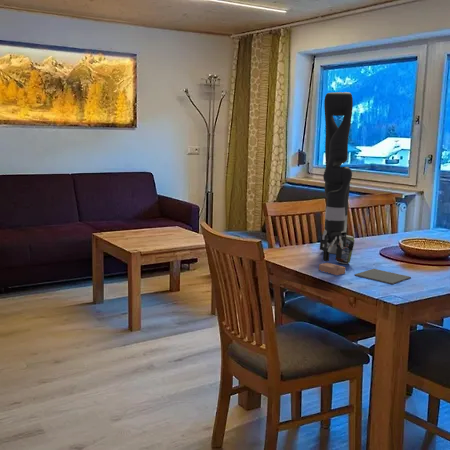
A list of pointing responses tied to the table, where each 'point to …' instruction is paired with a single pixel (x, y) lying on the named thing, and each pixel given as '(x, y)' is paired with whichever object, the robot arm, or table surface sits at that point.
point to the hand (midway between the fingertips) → (332, 259)
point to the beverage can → (347, 250)
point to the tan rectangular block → (332, 268)
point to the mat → (382, 276)
